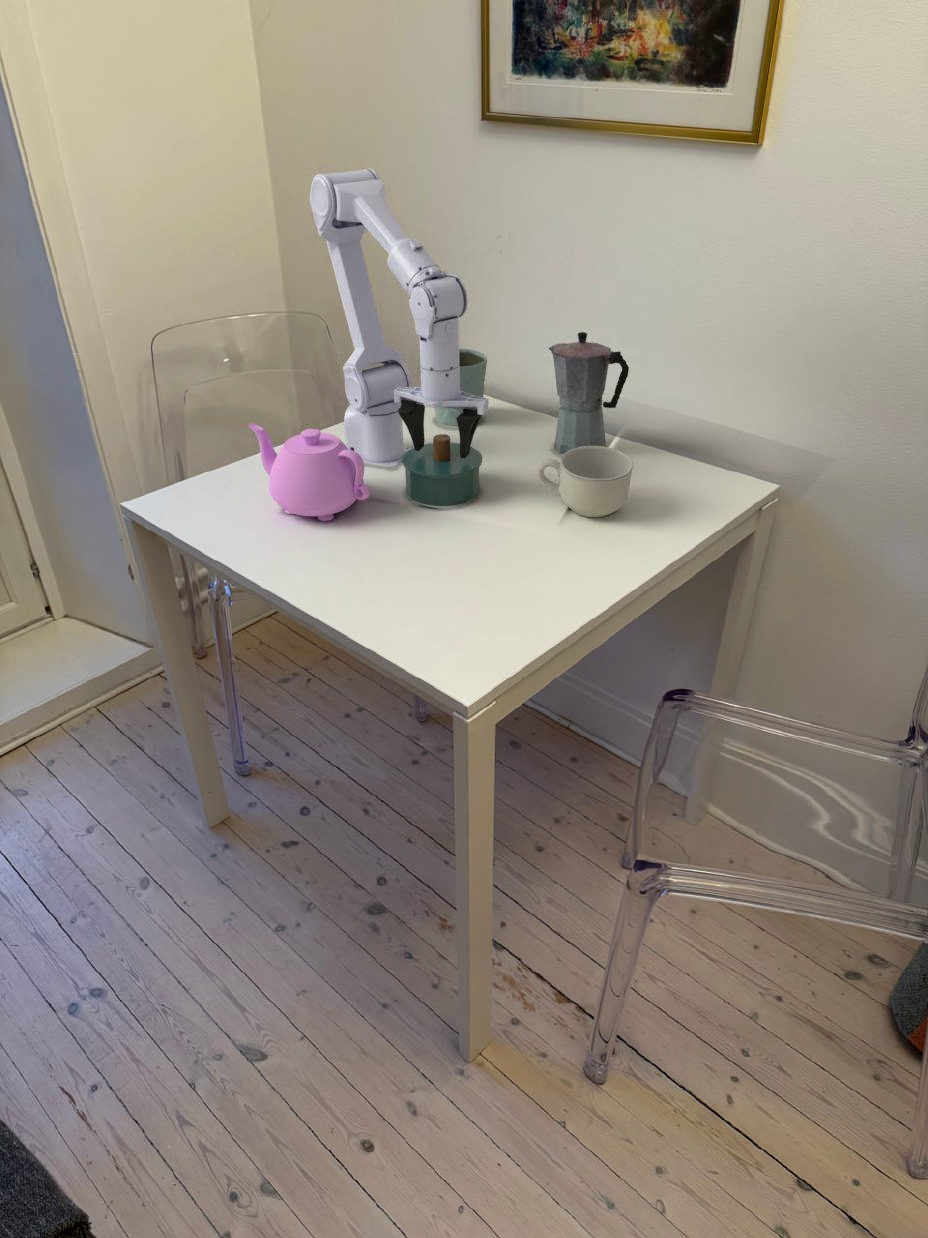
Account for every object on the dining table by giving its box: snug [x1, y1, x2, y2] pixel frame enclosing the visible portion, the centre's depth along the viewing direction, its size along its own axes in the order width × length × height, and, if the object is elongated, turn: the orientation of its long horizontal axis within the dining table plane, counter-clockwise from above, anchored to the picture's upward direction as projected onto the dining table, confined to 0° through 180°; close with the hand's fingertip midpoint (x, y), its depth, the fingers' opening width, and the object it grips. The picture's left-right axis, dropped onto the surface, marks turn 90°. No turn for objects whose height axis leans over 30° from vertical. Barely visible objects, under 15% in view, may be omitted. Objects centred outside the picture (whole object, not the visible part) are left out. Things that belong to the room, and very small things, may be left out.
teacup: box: [537, 446, 634, 518], centre depth 133 cm, size 14×11×8 cm
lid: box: [401, 433, 483, 478], centre depth 136 cm, size 12×12×4 cm
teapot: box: [247, 422, 371, 522], centre depth 134 cm, size 20×14×12 cm
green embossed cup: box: [434, 348, 488, 428], centre depth 162 cm, size 10×10×12 cm
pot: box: [404, 467, 480, 510], centre depth 139 cm, size 11×11×5 cm
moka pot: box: [548, 331, 630, 455], centre depth 148 cm, size 10×15×20 cm, turn 54°
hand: (442, 452), depth 136 cm, fingers open, 7 cm apart
